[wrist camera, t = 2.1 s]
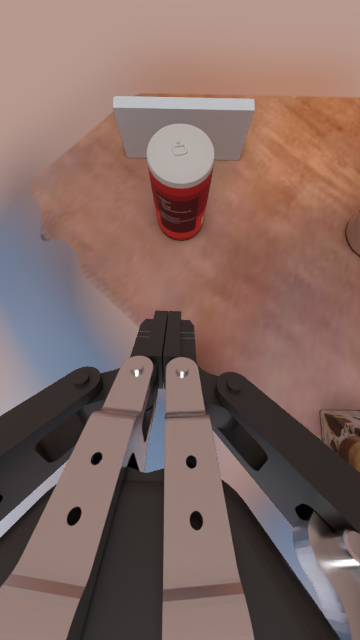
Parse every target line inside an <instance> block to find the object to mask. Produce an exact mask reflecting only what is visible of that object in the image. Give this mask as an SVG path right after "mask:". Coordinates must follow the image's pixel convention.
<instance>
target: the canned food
mask: <svg viewBox="0 0 360 640" xmlns="http://www.w3.org/2000/svg"><path fill="white" fill-rule="evenodd" d="M147 162H148V169H149V175H150V181H151V186H152V191H153V197H154V202H155V207H156V213H157V218H158V222H159V225H160V227H161V229H162V230H163V231H164V233H165V234H166V235H168V236H169V237H171V238H173V239H176V240H186V239H189V238H191V237H193V236H194V235H195V234H197V232H198V231H199V230H200V228H201V226H202V224H203V221H204V215H205V210H206V205H207V199H208V194H209V188H210V183H211V177H212V172H213V165H214V147H213V144H212V142H211V140H210V138H209V137H208V136H207V135H206V134H205V133H204V132H203V131H202V130H200V129H199V128H197V127H195V126H192V125H189V124H180V123H179V124H172V125H168V126H165V127H163V128H161V129H160V130H159V131H157V132H156V133H155V134H154V135H153V136H152V138H151V140H150V141H149V144H148V147H147Z"/></svg>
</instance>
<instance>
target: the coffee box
mask: <svg viewBox="0 0 360 640" xmlns="http://www.w3.org/2000/svg"><path fill="white" fill-rule="evenodd" d="M320 417H321V427H322V438H323V443H325V444H326V445H327V446H328V447H329V448H331V449H332V450H333V451H334V452H336V453H337V454H338V455H339V456H340V457H342V458H343V459H344V460H345V461H346V462H348V463H349V464H350V465H351V466H352V467H354V468H355V469H356V470H357V471H358V472H360V411H338V410H322V411H321V412H320Z"/></svg>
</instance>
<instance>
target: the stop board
mask: <svg viewBox="0 0 360 640" xmlns="http://www.w3.org/2000/svg"><path fill="white" fill-rule="evenodd" d="M113 110H114V113H115V117H116V120H117V124H118V128H119V131H120V135H121V138H122V142H123V145H124V149H125V152H126V156H127V158H147V147H148V144H149V141H150V140H151V138H152V136H153V135H154V134H155V133H156V132H157V131H159V130H160V129H161V128H163V127H165V126H168V125H172V124H179V123H180V124H189V125H192V126H195V127H197V128H199V129H200V130H202V131H203V132H204V133H205V134H206V135H207V136H208V137H209V138H210V140H211V142H212V144H213V147H214V160H239V159H240V155H241V152H242V149H243V146H244V142H245V139H246V136H247V133H248V129H249V126H250V123H251V120H252V117H253V113H254V99H231V98H182V97H133V96H114V102H113Z"/></svg>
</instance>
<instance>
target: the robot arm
mask: <svg viewBox="0 0 360 640" xmlns="http://www.w3.org/2000/svg"><path fill="white" fill-rule="evenodd" d="M346 235H347V239H348V242H349V244H350V246H351V247H352V249H353V250H354V251H355V252H356V253H357V254H358V255H360V211H359V212H358V213H357V214H356V215H354V216H353V217H352V218H351V219H350V221H349V223H348V225H347V229H346ZM163 384H164V388H165V389H166V414H165V468H164V469H160V470H157V471H153V472H150V473H144V470H145V464H146V456H147V445H148V440H149V435H150V430H151V426H152V421H153V416H154V412H155V407H156V399H157V394H158V388H162V389H163ZM212 430H213V431H214V432H215V433H216V434H217V436H218V437H219V438H220V439H221V440H222V442H223V443H224V444H225V445H226V446H227V448H228V449H229V450H230V451H231V452H232V454H233V455H234V456H235V457H236V458H237V460H238V461H239V462H240V463H241V465H242V466H243V467H244V468H245V469H246V471H247V472H248V473H249V474H250V476H251V477H252V478H253V479H254V480H255V482H256V483H257V484H258V485H259V486H260V488H261V489H262V490H263V491H264V492H265V494H266V495H267V496H268V497H269V499H270V500H271V501H272V502H273V503H274V505H275V506H276V507H277V508H278V509H279V510H280V512H281V513H282V514H283V515H284V517H285V518H286V519H287V520H288V521H289V523H290V524H291V525H292V526H293V528H294V531H293V542H294V548H295V551H296V555H297V557H298V560H299V562H300V564H301V566H302V568H303V570H304V571H305V573H306V575H307V576H308V578H309V579H310V581H311V583H312V584H313V586H314V588H315V590H316V592H317V594H318V597H319V599H320V602H321V605H322V609H323V612H324V614H323V613H322V611H321V610H320V609H319V607H318V606H317V604H316V603H315V601H314V600H313V599H312V597H311V596H310V594H309V593H308V591H307V590H306V589H305V588H304V586H303V584H302V583H301V581H300V580H299V579H298V577H297V576H296V574H295V573H294V572H293V570H292V569H291V567H290V566H289V564H288V563H287V562H286V560H285V559H284V557H283V556H282V554H281V553H280V552H279V550H278V549H277V547H276V546H275V544H274V543H273V542H272V540H271V539H270V537H269V536H268V534H267V533H266V532H265V530H264V529H263V527H262V526H261V524H260V523H259V522H258V520H257V519H256V517H255V516H254V515H253V513H252V512H251V510H250V509H249V507H248V506H247V504H246V503H245V502H244V500H243V499H242V498H241V497H240V496H239V494H238V493H237V492H236V491H235V490H234V489H233V488H231V487H230V486H229V485H228V484H227V483H226V482H224V481H223V480H221V476H220V470H219V465H218V459H217V454H216V448H215V443H214V437H213V433H212ZM68 459H69V460H68ZM67 460H68V462H67V464H66V466H65V468H64V471H63V473H62V475H61V477H60V479H59V481H58V483H57V484H56V485H55V486H54V487H52V488H51V489H50V490H49V491H48V492H46V493H45V494H44V495H43V496H42V497H41V498H40V499H39V500H38V501H37V502H36V503H35V504H34V505H33V506H32V507H31V508H30V509H29V510H28V511H27V512H26V513H25V514H24V515H23V516H22V517H21V518H20V519H19V520H18V521H17V522H16V523H15V524H14V525H13V526H12V527H11V528H10V529H9V530H8V531H7V532H6V533H5V534H4V535H3V536H2V537H1V538H0V640H360V472H358V471H357V470H356V469H355V468H354V467H352V466H351V465H350V464H349V463H348V462H346V461H345V460H344V459H343V458H342V457H340V456H339V455H338V454H337V453H336V452H334V451H333V450H332V449H331V448H329V447H328V446H327V445H326V444H325V443H323V442H322V441H321V440H320V439H319V438H317V437H316V436H315V435H314V434H313V433H311V432H310V431H309V430H308V429H306V428H305V427H304V426H303V425H302V424H300V423H299V422H298V421H297V420H296V419H294V418H293V417H292V416H291V415H290V414H288V413H287V412H286V411H285V410H284V409H282V408H281V407H280V406H279V405H277V404H276V403H275V402H274V401H273V400H271V399H270V398H269V397H268V396H267V395H265V394H264V393H263V392H262V391H261V390H259V389H258V388H257V387H256V386H255V385H253V384H252V383H251V382H250V381H248V380H247V379H246V378H245V377H243V376H242V375H240V374H238V373H234V372H226V373H223V374H221V375H220V376H219V377H218V376H215V375H212V374H209V373H207V372H205V371H203V370H202V369H201V368H200V367H199V366H198V364H197V362H196V351H195V336H194V325H193V324H192V323H191V321H190V320H181V312H179V311H169V314H168V311H155V315H154V319H146V320H145V321H144V322H143V323H142V324H141V325H140V328H139V332H138V335H137V338H136V341H135V344H134V347H133V350H132V354H131V357H130V358H129V359H127V360H126V361H125V362H124V363H123V364H122V366H121V368H119V369H117V370H113V371H109V372H105V373H100V372H99V371H98V370H97V369H96V368H94V367H82V368H79V369H76V370H75V371H73V372H71V373H70V374H68V375H66V376H65V377H63V378H61V379H60V380H58V381H57V382H55V383H53V384H52V385H50V386H48V387H47V388H45V389H44V390H42V391H40V392H39V393H37V394H36V395H34V396H32V397H31V398H29V399H27V400H26V401H24V402H23V403H21V404H19V405H18V406H16V407H14V408H13V409H11V410H10V411H8V412H6V413H5V414H3V415H1V416H0V521H1V520H2V519H3V518H4V517H5V516H6V515H8V513H10V512H11V511H12V510H13V509H14V508H15V507H16V506H18V505H19V504H20V503H21V502H22V501H23V500H24V499H25V498H26V497H27V496H28V495H30V494H31V493H32V492H33V491H34V490H35V489H36V488H37V487H38V486H40V485H41V484H42V483H43V482H44V481H45V480H46V479H47V478H48V477H50V476H51V475H52V474H53V473H54V472H55V471H56V470H57V469H58V468H59V467H60V466H62V465H63V464H64V463H65V462H66V461H67Z"/></svg>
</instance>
